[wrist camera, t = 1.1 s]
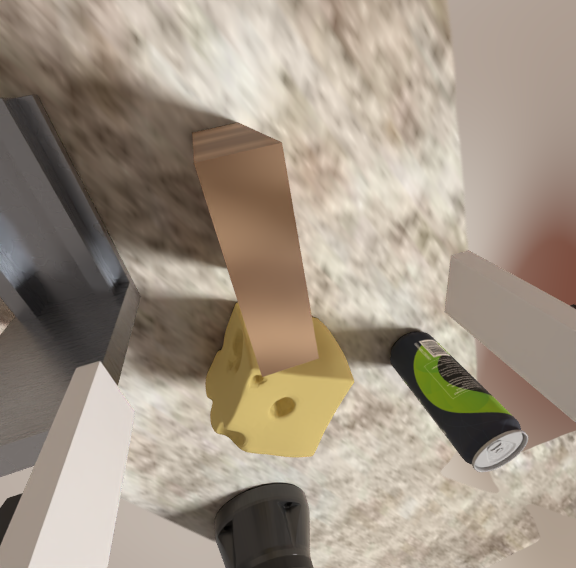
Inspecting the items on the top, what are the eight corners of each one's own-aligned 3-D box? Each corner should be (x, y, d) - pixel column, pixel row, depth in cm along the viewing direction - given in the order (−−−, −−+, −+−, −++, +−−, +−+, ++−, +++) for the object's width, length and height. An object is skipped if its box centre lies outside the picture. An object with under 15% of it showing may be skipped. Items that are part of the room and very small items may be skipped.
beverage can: (378, 351, 41) (461, 463, 28) (417, 320, 40) (520, 421, 27) (400, 372, 44) (484, 480, 32) (436, 343, 43) (537, 443, 31)
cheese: (204, 375, 36) (208, 459, 27) (234, 294, 32) (250, 364, 23) (287, 384, 40) (313, 459, 31) (323, 313, 36) (364, 378, 27)
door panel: (269, 259, 31) (318, 358, 19) (234, 269, 30) (262, 377, 18) (237, 122, 24) (281, 142, 13) (192, 132, 24) (193, 163, 12)
